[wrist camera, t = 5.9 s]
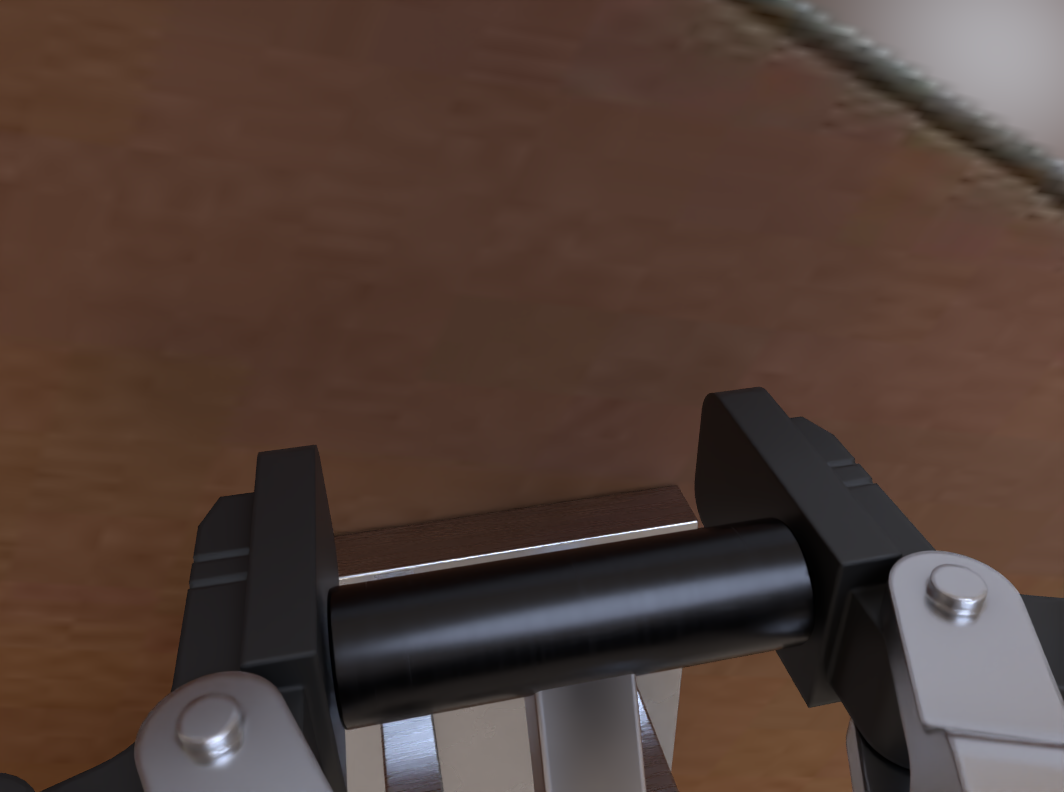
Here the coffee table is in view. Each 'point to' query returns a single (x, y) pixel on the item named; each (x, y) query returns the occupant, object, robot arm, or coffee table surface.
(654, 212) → the coffee table surface
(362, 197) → the coffee table surface
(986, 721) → the robot arm
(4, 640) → the coffee table surface
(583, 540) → the lever bracket
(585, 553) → the flush lever
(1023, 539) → the coffee table surface
